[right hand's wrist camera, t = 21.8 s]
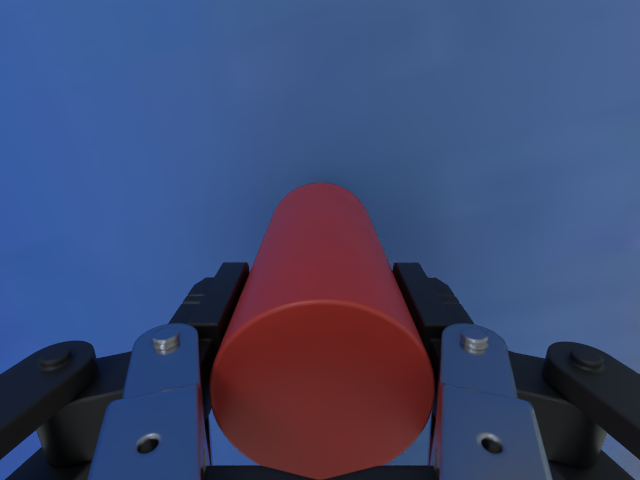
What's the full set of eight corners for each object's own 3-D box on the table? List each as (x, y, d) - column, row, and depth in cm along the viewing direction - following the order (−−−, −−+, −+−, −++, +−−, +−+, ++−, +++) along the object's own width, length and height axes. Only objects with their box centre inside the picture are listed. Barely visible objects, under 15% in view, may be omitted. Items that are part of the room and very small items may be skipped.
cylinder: (281, 283, 18) (237, 492, 8) (261, 191, 17) (179, 319, 7) (375, 269, 18) (442, 469, 8) (364, 174, 16) (430, 283, 7)
